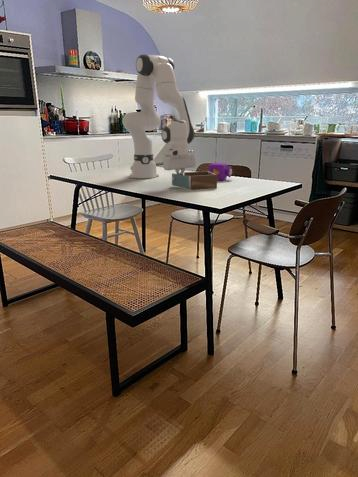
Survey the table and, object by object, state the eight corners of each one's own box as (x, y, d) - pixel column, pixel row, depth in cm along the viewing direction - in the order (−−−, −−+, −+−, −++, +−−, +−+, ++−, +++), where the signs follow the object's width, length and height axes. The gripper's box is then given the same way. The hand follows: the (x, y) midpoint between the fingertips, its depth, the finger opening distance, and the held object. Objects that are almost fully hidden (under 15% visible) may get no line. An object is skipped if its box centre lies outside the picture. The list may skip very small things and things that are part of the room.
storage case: (184, 185, 208) (184, 172, 206) (208, 183, 211) (208, 171, 209) (191, 189, 195) (191, 176, 193) (216, 187, 199) (217, 174, 196)
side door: (170, 185, 204) (170, 173, 201) (173, 185, 205) (173, 173, 203) (188, 189, 193) (188, 176, 191) (191, 188, 194) (191, 176, 192)
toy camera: (231, 181, 218) (232, 163, 215) (208, 180, 221) (208, 163, 218) (232, 178, 228) (233, 161, 225) (210, 177, 231) (210, 161, 228)
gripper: (190, 149, 207) (190, 174, 211) (161, 152, 194) (162, 178, 198) (198, 149, 202) (198, 175, 206) (168, 152, 189) (169, 179, 194)
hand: (180, 177), depth 202 cm, fingers closed
